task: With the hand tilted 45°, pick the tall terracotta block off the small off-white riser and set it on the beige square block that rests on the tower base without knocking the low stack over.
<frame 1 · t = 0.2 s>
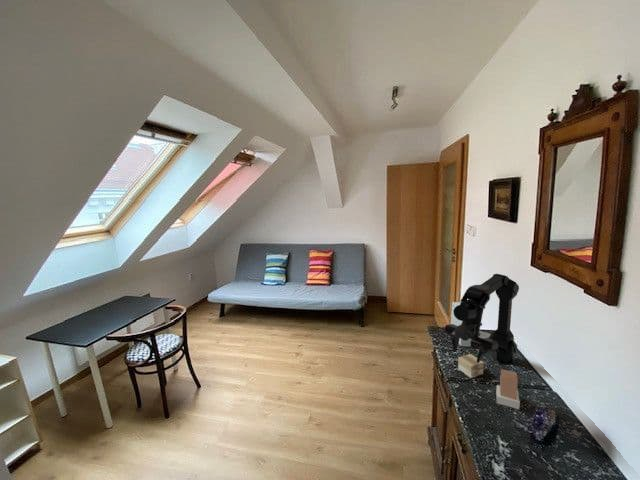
hand: (465, 357, 111), 16 cm above the sideboard top, tool tilted 15°, fingers open, 9 cm apart
riser: (507, 400, 108), on the sideboard top
external hard drive: (478, 338, 152), on the sideboard top
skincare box: (460, 336, 154), on the sideboard top
terracotta block: (507, 393, 108), point 3 cm above the sideboard top, touching riser
tower base: (470, 371, 126), on the sideboard top, touching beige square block
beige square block: (470, 365, 125), point 3 cm above the sideboard top, touching tower base
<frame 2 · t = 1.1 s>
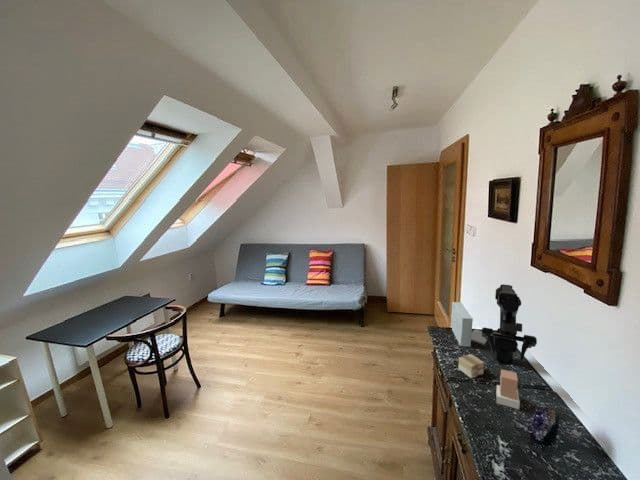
hand: (507, 357, 113), 13 cm above the sideboard top, tool tilted 45°, fingers open, 9 cm apart
nothing on the sideboard top moved.
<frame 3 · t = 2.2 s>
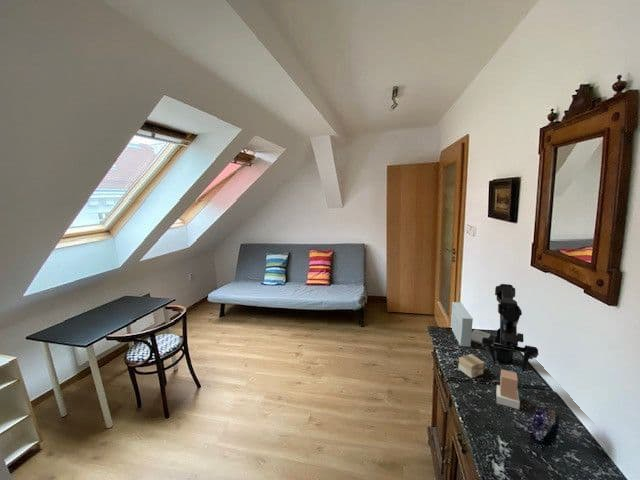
hand: (508, 369, 110), 11 cm above the sideboard top, tool tilted 45°, fingers open, 9 cm apart
nothing on the sideboard top moved.
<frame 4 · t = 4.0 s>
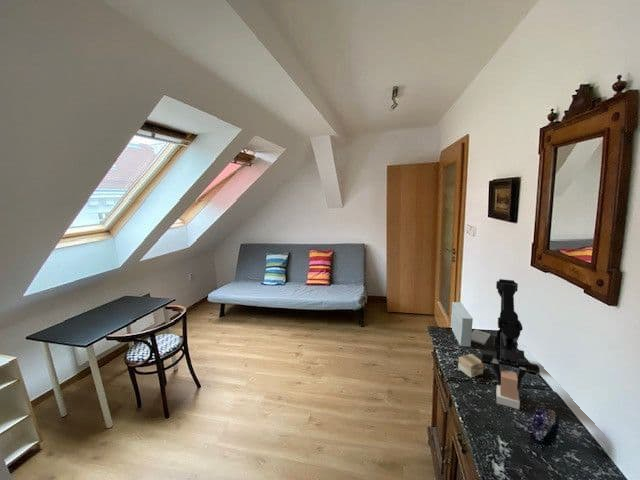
hand: (508, 387, 106), 7 cm above the sideboard top, tool tilted 45°, fingers closed on terracotta block, 5 cm apart
terracotta block: (507, 393, 108), point 3 cm above the sideboard top, touching gripper, riser
everything else where it was.
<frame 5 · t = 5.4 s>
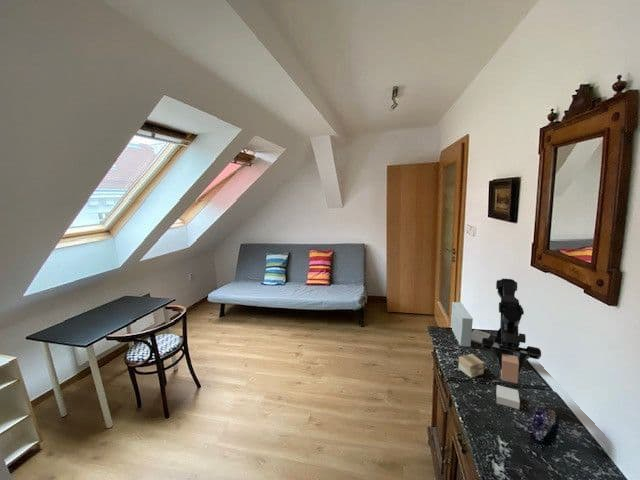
hand: (509, 371, 105), 13 cm above the sideboard top, tool tilted 45°, fingers closed on terracotta block, 5 cm apart
terracotta block: (508, 377, 107), point 10 cm above the sideboard top, touching gripper
tower base: (470, 371, 126), on the sideboard top
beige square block: (470, 365, 125), point 3 cm above the sideboard top
everything else where it was.
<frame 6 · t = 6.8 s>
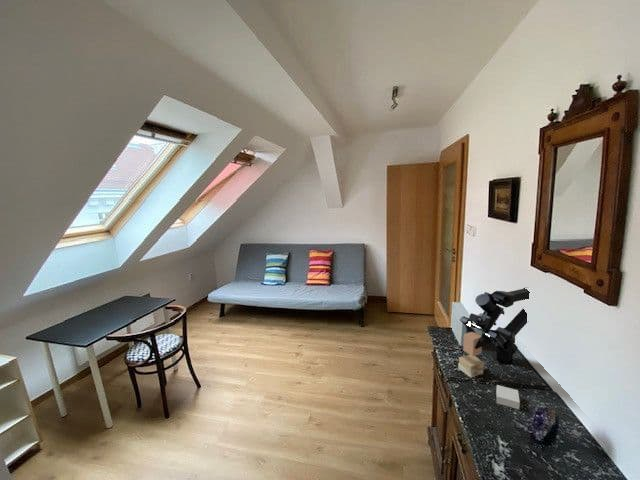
hand: (470, 345, 122), 13 cm above the sideboard top, tool tilted 45°, fingers closed on terracotta block, 5 cm apart
terracotta block: (472, 352, 123), point 10 cm above the sideboard top, touching gripper
tower base: (470, 371, 126), on the sideboard top, touching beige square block
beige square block: (471, 366, 125), point 3 cm above the sideboard top, touching tower base
everything else where it was.
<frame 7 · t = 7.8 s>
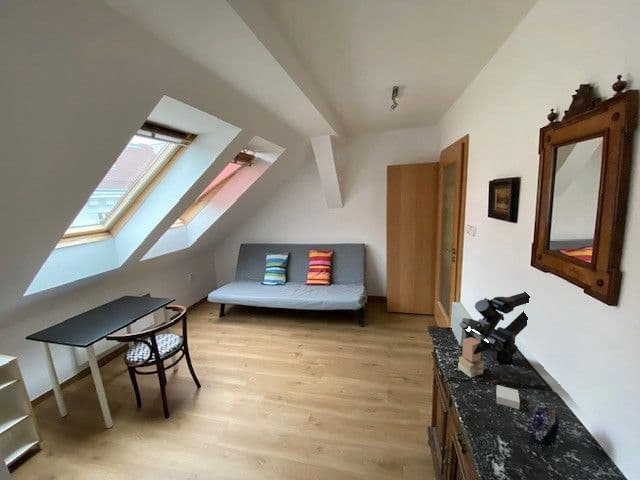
hand: (469, 350, 123), 10 cm above the sideboard top, tool tilted 45°, fingers closed on terracotta block, 5 cm apart
terracotta block: (471, 357, 125), point 7 cm above the sideboard top, touching gripper
everything else where it was.
when the fingers open (10 cm above the sideboard top, at t = 8.0 s): terracotta block drops 1 cm, resting on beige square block.
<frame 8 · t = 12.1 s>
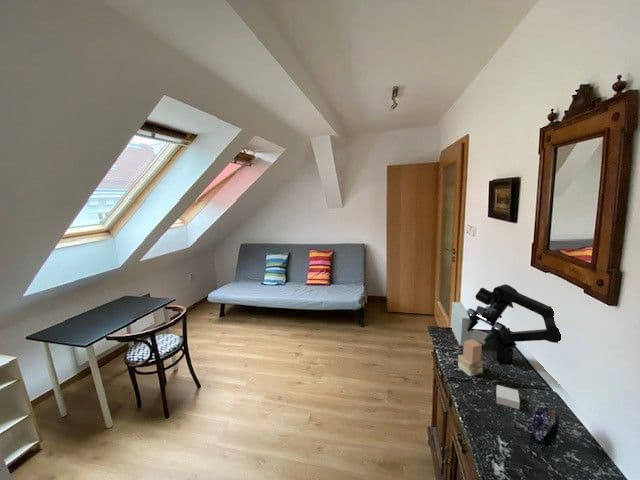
hand: (475, 335, 129), 14 cm above the sideboard top, tool tilted 45°, fingers open, 9 cm apart
terracotta block: (471, 359, 125), point 6 cm above the sideboard top, touching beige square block
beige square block: (470, 364, 126), point 3 cm above the sideboard top, touching terracotta block, tower base
everything else where it was.
at the end: terracotta block 0.9 cm off-centre on the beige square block, point 3.0 cm above the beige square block's base; terracotta block tilted 1°; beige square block 0.2 cm off-centre on the tower base, point 3.0 cm above the tower base's base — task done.
